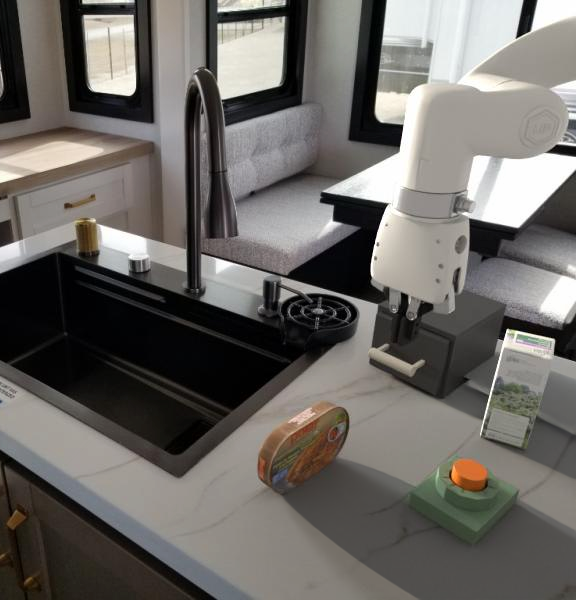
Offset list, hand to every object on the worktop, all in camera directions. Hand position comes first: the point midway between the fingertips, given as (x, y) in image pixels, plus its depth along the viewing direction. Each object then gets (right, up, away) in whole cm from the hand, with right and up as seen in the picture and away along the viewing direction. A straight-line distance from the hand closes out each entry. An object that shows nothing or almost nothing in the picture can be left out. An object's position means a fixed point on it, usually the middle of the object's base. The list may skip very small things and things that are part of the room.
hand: (402, 340), depth 80 cm
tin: (-13, -17, +1) cm, 21 cm away
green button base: (+5, -19, -4) cm, 20 cm away
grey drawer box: (+13, -5, +23) cm, 27 cm away
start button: (+5, -16, -6) cm, 18 cm away
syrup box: (+16, -13, +7) cm, 22 cm away
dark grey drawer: (+10, -6, +20) cm, 23 cm away
